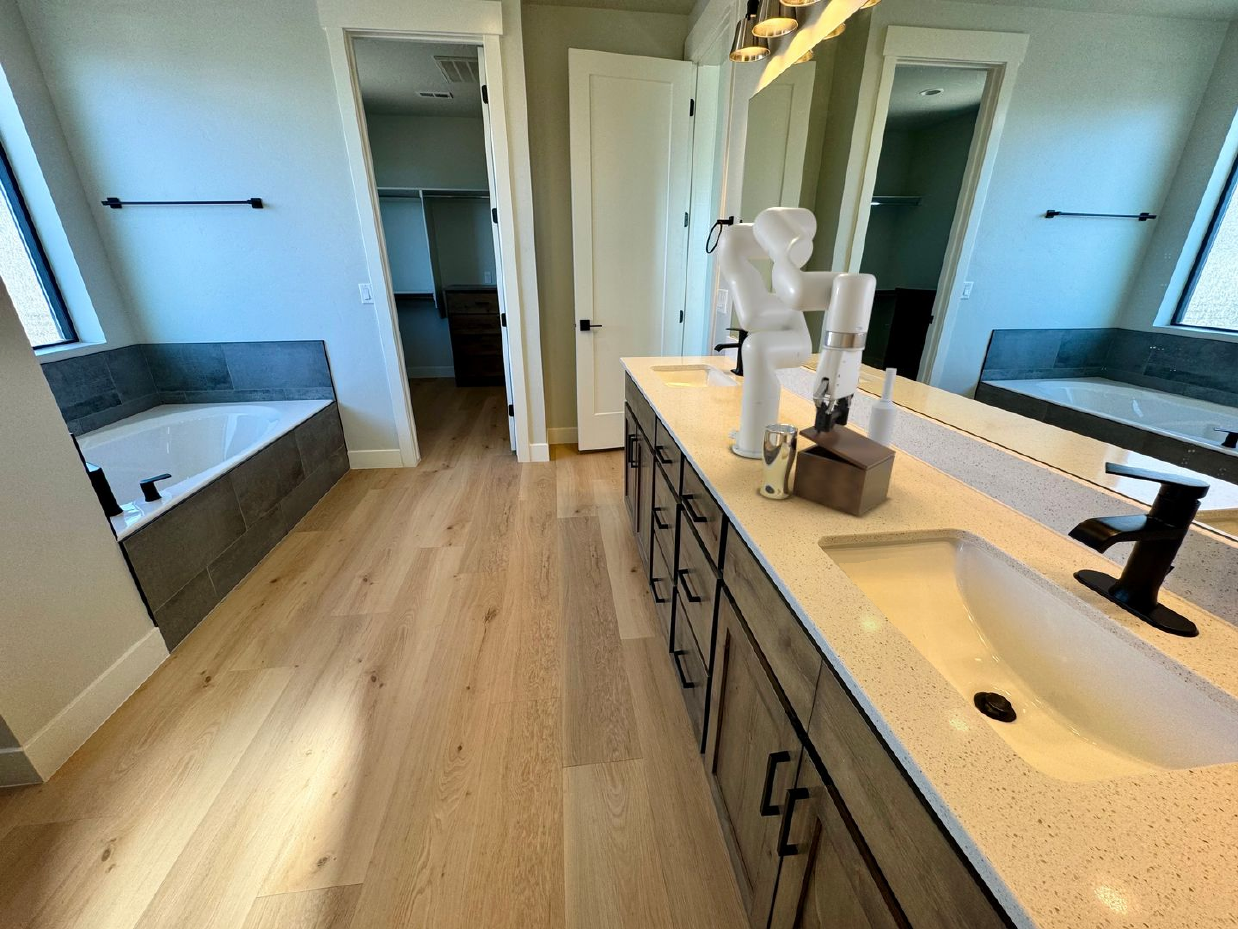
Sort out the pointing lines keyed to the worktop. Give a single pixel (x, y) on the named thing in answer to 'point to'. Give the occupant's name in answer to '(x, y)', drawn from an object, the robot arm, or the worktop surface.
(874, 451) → the lid
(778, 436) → the beer glass
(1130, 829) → the worktop surface
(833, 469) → the chest
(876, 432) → the bottle
